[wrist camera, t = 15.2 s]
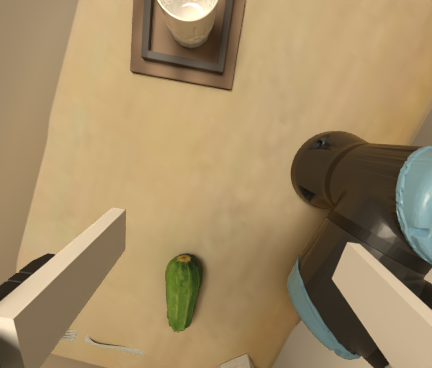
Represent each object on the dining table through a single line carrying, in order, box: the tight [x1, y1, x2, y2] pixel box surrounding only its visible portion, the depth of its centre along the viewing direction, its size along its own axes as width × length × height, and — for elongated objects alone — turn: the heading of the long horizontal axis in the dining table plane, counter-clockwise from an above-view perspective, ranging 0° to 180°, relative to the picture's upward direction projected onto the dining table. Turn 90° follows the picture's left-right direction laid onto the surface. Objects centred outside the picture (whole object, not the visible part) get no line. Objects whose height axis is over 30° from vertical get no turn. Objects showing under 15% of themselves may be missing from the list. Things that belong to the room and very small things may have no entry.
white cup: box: [157, 0, 219, 48], centre depth 27 cm, size 8×8×10 cm
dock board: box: [130, 0, 245, 90], centre depth 32 cm, size 17×17×2 cm
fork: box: [60, 330, 145, 355], centre depth 48 cm, size 3×24×2 cm, turn 64°
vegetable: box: [165, 254, 202, 332], centre depth 42 cm, size 7×7×20 cm
